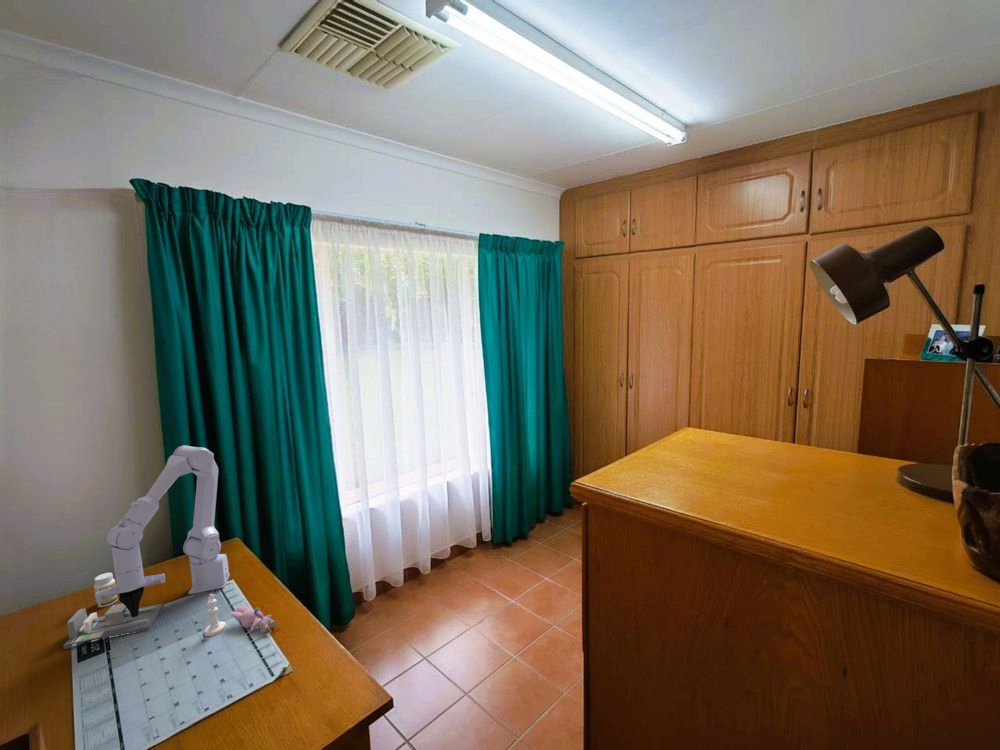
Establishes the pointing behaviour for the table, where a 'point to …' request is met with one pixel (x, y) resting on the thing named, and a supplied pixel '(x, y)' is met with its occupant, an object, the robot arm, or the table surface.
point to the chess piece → (214, 619)
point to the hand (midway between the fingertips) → (135, 615)
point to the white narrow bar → (89, 623)
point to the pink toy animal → (254, 619)
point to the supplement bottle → (103, 583)
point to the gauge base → (101, 631)
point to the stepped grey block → (115, 615)
